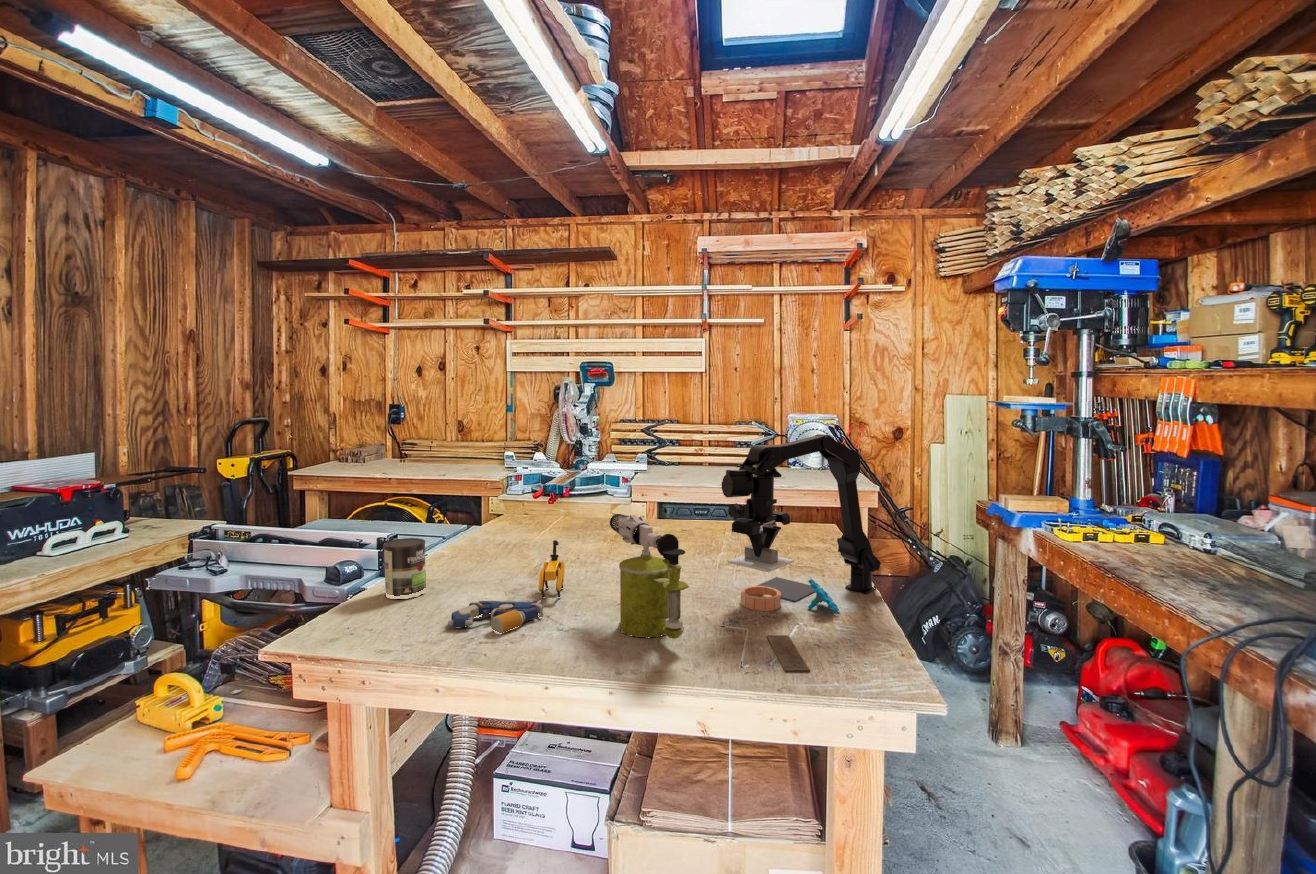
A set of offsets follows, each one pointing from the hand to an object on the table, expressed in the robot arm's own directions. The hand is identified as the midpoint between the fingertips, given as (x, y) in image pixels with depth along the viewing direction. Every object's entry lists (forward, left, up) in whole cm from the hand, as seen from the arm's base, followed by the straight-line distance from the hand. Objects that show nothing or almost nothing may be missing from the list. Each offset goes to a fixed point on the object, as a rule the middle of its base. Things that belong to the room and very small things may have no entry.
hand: (761, 555), depth 149 cm
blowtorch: (+31, -11, -13) cm, 35 cm away
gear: (-7, +14, -13) cm, 20 cm away
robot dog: (+31, -46, -13) cm, 57 cm away
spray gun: (+53, -39, -13) cm, 67 cm away
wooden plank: (+21, +20, -13) cm, 32 cm away
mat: (-14, -1, -13) cm, 19 cm away
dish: (0, 0, -13) cm, 13 cm away
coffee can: (+59, -74, -13) cm, 95 cm away
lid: (0, 0, -2) cm, 2 cm away
